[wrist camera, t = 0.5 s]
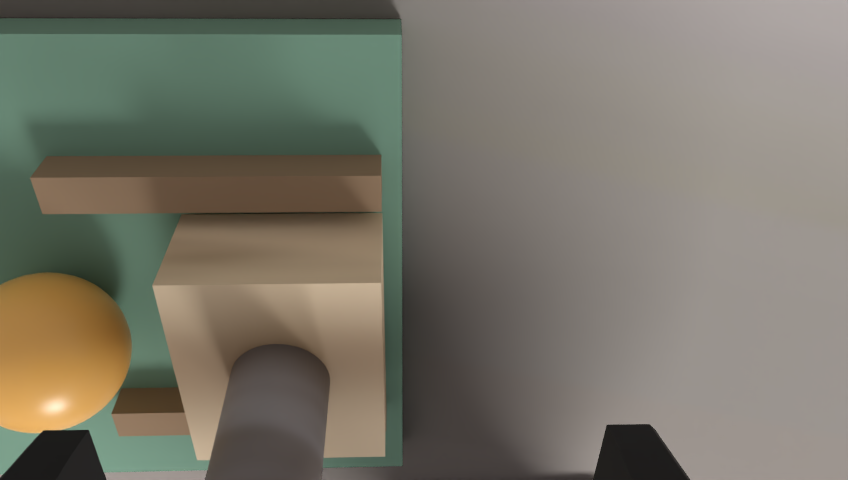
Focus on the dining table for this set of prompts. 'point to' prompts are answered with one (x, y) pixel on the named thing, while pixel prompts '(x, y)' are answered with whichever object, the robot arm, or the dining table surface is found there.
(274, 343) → the beige block
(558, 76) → the dining table surface
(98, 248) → the pitch
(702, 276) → the dining table surface
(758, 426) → the dining table surface
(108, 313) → the ball
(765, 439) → the dining table surface
